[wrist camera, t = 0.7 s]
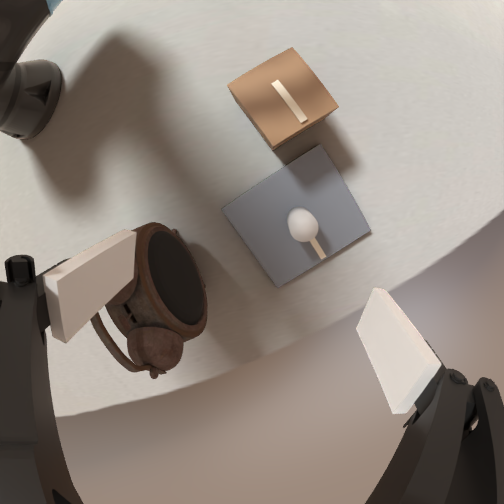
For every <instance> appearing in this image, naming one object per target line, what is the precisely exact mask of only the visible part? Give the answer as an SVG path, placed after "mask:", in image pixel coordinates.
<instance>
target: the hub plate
mask: <svg viewBox="0 0 504 504" xmlns="http://www.w3.org/2000/svg"><path fill="white" fill-rule="evenodd" d="M221 210H222V211H223V213H224V214H225V216H226V217H227V218H228V220H229V221H230V223H231V224H232V225H233V227H234V228H235V230H236V231H237V232H238V234H239V235H240V237H241V238H242V239H243V241H244V242H245V244H246V245H247V246H248V248H249V249H250V251H251V252H252V253H253V255H254V256H255V257H256V259H257V260H258V262H259V263H260V264H261V266H262V267H263V269H264V270H265V271H266V273H267V274H268V276H269V277H270V278H271V280H272V281H273V283H274V284H275V285H276V287H277V288H279V287H281V286H282V285H284V284H286V283H287V282H289V281H291V280H292V279H294V278H296V277H297V276H299V275H300V274H302V273H304V272H305V271H307V270H309V269H310V268H312V267H314V266H315V265H317V264H318V263H320V262H322V261H323V260H325V259H326V258H328V257H330V256H331V255H333V254H334V253H336V252H338V251H339V250H341V249H342V248H344V247H345V246H347V245H349V244H350V243H352V242H353V241H355V240H356V239H358V238H359V237H361V236H362V235H364V234H366V233H367V232H369V231H370V230H371V229H370V227H369V225H368V223H367V221H366V219H365V217H364V216H363V214H362V212H361V210H360V208H359V206H358V205H357V203H356V201H355V199H354V197H353V196H352V194H351V192H350V190H349V189H348V187H347V185H346V184H345V182H344V180H343V179H342V177H341V175H340V174H339V172H338V170H337V169H336V167H335V166H334V164H333V162H332V161H331V159H330V158H329V156H328V155H327V153H326V151H325V150H324V148H323V147H322V145H321V144H319V145H318V146H316V147H314V148H313V149H311V150H310V151H308V152H306V153H305V154H303V155H302V156H300V157H298V158H297V159H295V160H294V161H292V162H291V163H289V164H288V165H286V166H284V167H283V168H281V169H280V170H278V171H277V172H275V173H274V174H272V175H271V176H269V177H268V178H266V179H265V180H263V181H262V182H260V183H259V184H257V185H256V186H254V187H253V188H251V189H250V190H248V191H247V192H245V193H244V194H242V195H241V196H239V197H238V198H237V199H235V200H234V201H232V202H231V203H229V204H228V205H226V206H225V207H224V208H222V209H221Z"/></svg>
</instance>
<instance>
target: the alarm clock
mask: <svg viewBox="0 0 504 504" xmlns="http://www.w3.org/2000/svg"><path fill="white" fill-rule="evenodd" d="M131 231H134V232H136V244H135V258H134V276H133V279H132V280H131V281H130V282H129V283H128V284H127V285H125V286H124V287H123V288H122V289H121V290H120V291H119V292H118V293H117V294H116V295H115V296H114V297H113V298H112V299H111V300H110V301H108V302H107V303H106V304H105V307H106V309H107V311H108V314H109V315H110V317H111V319H112V321H113V322H114V324H115V325H116V327H117V328H118V329H119V330H120V332H121V333H122V334H123V335H124V336H125V337H126V338H127V347H128V353H129V356H130V358H131V359H132V361H133V362H134V363H135V364H136V365H135V364H134V363H133V362H132V361H131V360H130V359H129V358H127V357H126V356H125V355H124V354H123V352H122V351H121V350H120V349H119V347H118V346H117V345H116V343H115V342H114V340H113V339H112V338H111V336H110V335H109V333H108V331H107V330H106V328H105V326H104V325H103V323H102V320H101V318H100V315H99V313H98V312H97V313H96V314H95V315H94V316H93V317H92V318H91V319H90V320H91V323H92V325H93V327H94V329H95V331H96V333H97V334H98V336H99V337H100V339H101V341H102V342H103V343H104V345H105V346H106V348H107V349H108V350H109V352H110V353H111V354H112V355H113V357H114V358H115V359H116V360H117V361H118V362H119V363H120V364H121V365H122V366H124V367H125V368H126V369H127V370H128V371H131V372H139V371H144V370H147V371H150V376H151V378H152V379H156V378H157V377H158V374H165V373H167V372H165V371H167V370H170V369H172V368H174V367H175V366H176V365H177V364H178V363H179V361H180V359H181V357H182V353H183V342H186V341H188V340H190V339H193V338H195V337H197V336H199V335H200V334H201V333H202V332H203V330H204V328H205V325H206V321H207V298H206V292H205V285H204V284H203V280H202V278H201V275H200V272H199V270H198V267H197V265H196V263H195V261H194V259H193V257H192V255H191V254H190V252H189V250H188V249H187V247H186V246H185V245H184V243H183V242H182V241H181V240H180V239H179V237H178V236H176V232H177V231H176V230H175V229H173V230H172V231H171V230H170V229H169V228H167V227H166V226H164V225H162V224H160V223H156V222H152V223H148V224H146V225H143V226H141V227H138V228H136V229H134V230H131Z"/></svg>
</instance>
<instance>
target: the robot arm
mask: <svg viewBox="0 0 504 504" xmlns="http://www.w3.org/2000/svg"><path fill="white" fill-rule="evenodd" d="M61 1H62V0H0V131H1V132H3V133H5V134H7V135H9V136H11V137H13V138H16V139H29V138H32V137H34V136H35V135H37V134H38V133H39V132H40V131H41V130H42V129H43V128H44V127H45V125H46V124H47V122H48V121H49V119H50V118H51V116H52V114H53V112H54V109H55V107H56V104H57V101H58V98H59V94H60V88H61V74H60V70H59V68H58V66H57V65H56V64H55V63H53V62H50V61H47V60H34V61H27V62H21V63H16V62H17V61H18V59H19V58H20V56H21V54H22V53H23V51H24V50H25V48H26V47H27V46H28V44H29V43H30V41H31V40H32V38H33V37H34V36H35V34H36V33H37V32H38V30H39V29H40V28H41V26H42V25H43V24H44V23H45V21H46V20H47V19H48V18H49V17H50V16H51V15H52V14H53V11H54V10H55V9H56V7H57V6H58V5H59V4H60V3H61ZM135 244H136V232H134V231H130V230H126V229H124V230H122V231H120V232H118V233H116V234H114V235H112V236H111V237H109V238H107V239H105V240H103V241H101V242H99V243H97V244H96V245H94V246H92V247H90V248H88V249H86V250H85V251H83V252H81V253H79V254H78V255H76V256H74V257H72V258H69V259H65V260H63V261H61V262H59V263H58V264H57V265H54V266H53V267H51V268H49V269H47V270H46V271H44V272H42V273H41V274H39V275H38V276H36V275H35V265H34V259H33V258H32V257H31V256H28V255H16V256H13V257H10V258H8V259H7V260H6V261H5V269H6V276H7V282H8V283H6V282H2V281H0V504H83V502H82V500H81V498H80V496H79V495H78V493H77V491H76V489H75V487H74V486H73V483H72V480H71V477H70V474H69V471H68V468H67V465H66V461H65V458H64V454H63V451H62V447H61V443H60V439H59V435H58V430H57V426H56V420H55V415H54V410H53V404H52V397H51V390H50V381H49V372H48V359H47V339H46V333H45V329H46V328H47V327H48V326H49V325H50V326H51V331H52V336H53V337H54V338H56V339H58V340H60V341H62V342H64V343H67V342H68V341H69V340H70V339H71V338H72V337H73V336H74V335H75V334H76V333H77V332H78V331H79V330H80V329H81V328H82V327H83V326H84V325H85V324H86V323H87V322H88V321H89V320H90V319H91V318H92V317H93V316H94V315H95V314H96V313H97V312H98V311H99V310H100V309H101V308H102V307H103V306H104V305H105V304H106V303H107V302H108V301H110V300H111V299H112V298H113V297H114V296H115V295H116V294H117V293H118V292H119V291H120V290H121V289H122V288H123V287H124V286H125V285H127V284H128V283H129V282H130V281H131V280H132V279H133V276H134V258H135ZM356 330H357V332H358V334H359V336H360V339H361V341H362V343H363V345H364V347H365V350H366V352H367V354H368V356H369V359H370V361H371V363H372V366H373V368H374V370H375V373H376V375H377V377H378V380H379V382H380V384H381V387H382V389H383V392H384V394H385V397H386V399H387V402H388V404H389V407H390V409H391V412H392V414H405V413H407V412H408V411H409V409H410V408H411V407H412V406H413V404H415V406H416V408H417V410H416V411H415V413H414V414H413V415H412V416H411V417H410V419H409V420H408V421H407V422H406V423H405V424H404V426H403V427H404V428H405V427H406V426H407V425H408V427H407V429H406V431H405V433H404V436H403V438H402V440H401V442H400V444H399V446H398V448H397V450H396V452H395V454H394V456H393V458H392V460H391V461H390V463H389V465H388V467H387V469H386V471H385V472H384V474H383V476H382V477H381V479H380V481H379V483H378V484H377V486H376V487H375V489H374V491H373V492H372V494H371V495H370V497H369V498H368V500H367V501H366V503H365V504H504V405H503V402H502V399H501V396H500V393H499V390H498V388H497V386H496V385H495V383H494V382H493V381H492V380H491V379H488V378H485V377H482V378H480V379H479V381H478V382H477V384H476V385H475V386H473V385H469V384H468V381H467V379H466V378H465V376H464V375H463V374H462V373H460V372H459V371H457V370H454V369H446V368H445V366H444V365H443V363H442V362H441V360H440V359H439V357H438V356H437V355H436V354H435V352H434V350H433V349H431V346H430V345H429V344H428V342H427V341H426V340H425V339H424V338H423V337H422V336H421V335H420V333H419V332H418V331H417V329H416V328H415V327H414V325H413V324H412V323H411V321H410V320H409V319H408V318H407V316H406V315H405V314H404V312H403V311H402V310H401V309H400V308H399V306H398V305H397V304H396V302H395V301H394V300H393V299H392V297H391V296H390V295H389V294H388V293H387V291H386V290H385V289H380V288H376V287H374V288H373V290H372V293H371V295H370V298H369V300H368V302H367V305H366V307H365V310H364V312H363V314H362V316H361V319H360V321H359V323H358V325H357V327H356ZM477 420H478V424H477V426H476V428H475V429H474V430H472V427H471V426H472V425H473V424H474V423H475V422H476V421H477Z"/></svg>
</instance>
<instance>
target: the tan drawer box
mask: <svg viewBox="0 0 504 504" xmlns="http://www.w3.org/2000/svg"><path fill="white" fill-rule="evenodd" d="M227 86H228V88H229V90H230V92H231V93H232V95H233V97H234V99H235V101H236V102H237V104H238V105H239V106H240V108H241V109H242V110H243V112H244V113H245V114H246V115H247V117H248V118H249V119H250V121H251V122H252V123H253V125H254V126H255V128H256V129H257V130H258V132H259V133H260V134H261V136H262V137H263V138H264V140H265V141H266V143H267V144H268V145H269V147H270V148H271V150H272V151H273V150H274V149H276V148H278V147H279V146H281V145H282V144H284V143H285V142H287V141H289V140H290V139H292V138H293V137H295V136H297V135H298V134H300V133H301V132H303V131H305V130H306V129H308V128H310V127H311V126H313V125H315V124H316V123H318V122H320V121H321V120H323V119H324V118H326V117H327V116H328V115H329V114H331V113H332V112H333V111H334V110H336V109H337V108H338V107H339V106H338V105H337V103H336V102H335V100H334V99H333V98H332V96H331V95H330V93H329V92H328V91H327V89H326V88H325V87H324V85H323V84H322V83H321V81H320V80H319V79H318V78H317V76H316V75H315V74H314V72H313V71H312V70H311V69H310V67H309V66H308V65H307V64H306V63H305V61H304V60H303V59H302V58H301V57H300V55H299V54H298V53H297V52H296V51H295V50H294V49H293V47H292V48H290V49H288V50H286V51H284V52H282V53H280V54H278V55H276V56H274V57H273V58H271V59H269V60H267V61H265V62H264V63H262V64H260V65H258V66H257V67H255V68H253V69H252V70H250V71H248V72H247V73H245V74H243V75H242V76H240V77H239V78H237V79H235V80H234V81H232V82H231V83H229V84H228V85H227Z"/></svg>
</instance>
